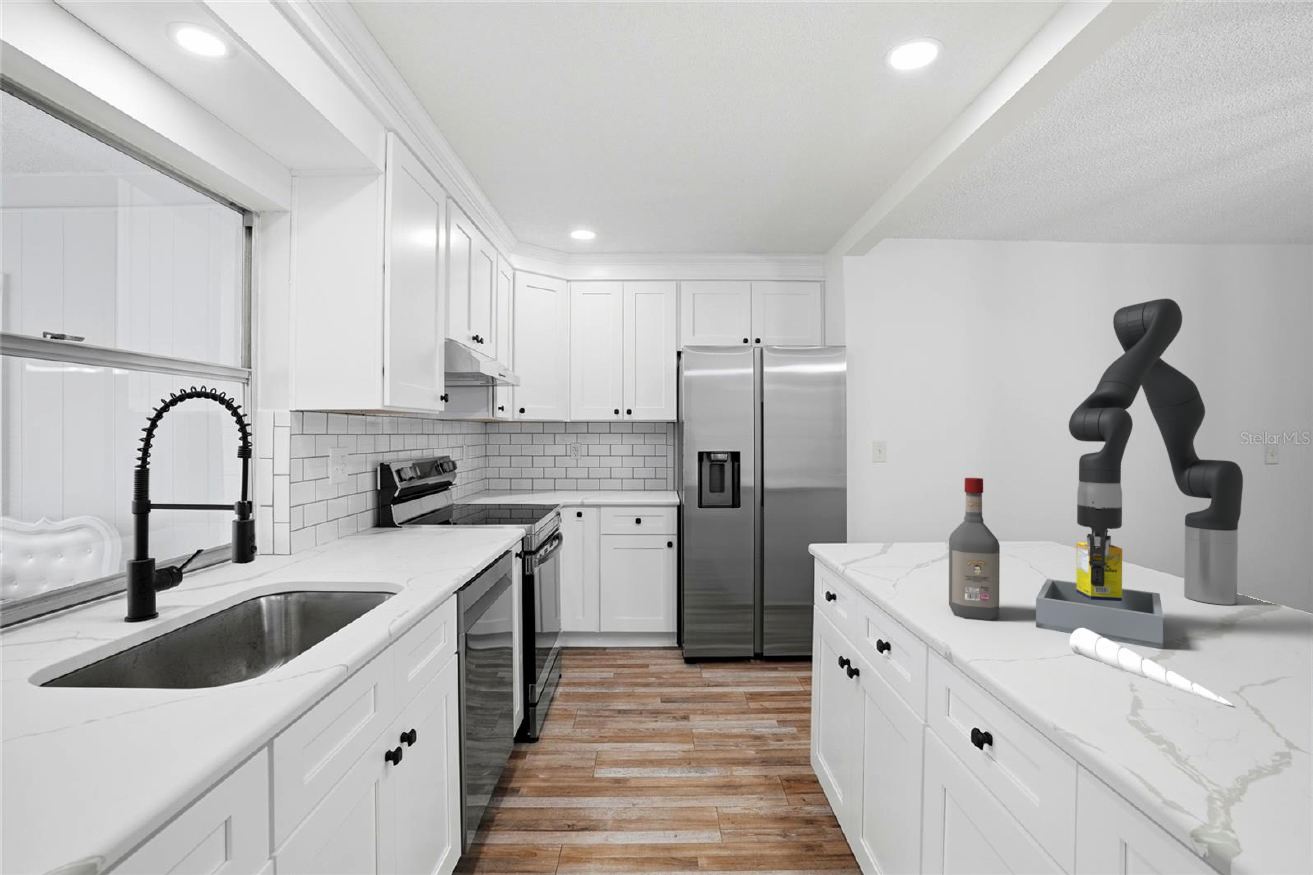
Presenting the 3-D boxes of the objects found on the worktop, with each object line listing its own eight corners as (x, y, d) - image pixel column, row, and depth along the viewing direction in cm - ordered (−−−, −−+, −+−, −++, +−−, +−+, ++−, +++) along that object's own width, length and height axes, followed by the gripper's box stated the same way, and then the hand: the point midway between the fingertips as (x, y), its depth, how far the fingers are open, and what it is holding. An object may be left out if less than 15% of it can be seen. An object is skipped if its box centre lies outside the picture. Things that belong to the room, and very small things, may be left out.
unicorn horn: (1215, 712, 87) (1215, 679, 87) (1066, 653, 110) (1066, 627, 110) (1239, 709, 88) (1239, 676, 88) (1087, 651, 111) (1087, 625, 111)
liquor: (1001, 622, 127) (1002, 480, 126) (953, 617, 130) (954, 479, 129) (992, 609, 135) (992, 477, 135) (947, 605, 138) (948, 476, 138)
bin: (1046, 604, 139) (1047, 578, 139) (1159, 621, 127) (1159, 593, 126) (1035, 627, 123) (1036, 598, 123) (1162, 649, 111) (1163, 616, 111)
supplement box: (1122, 601, 121) (1123, 548, 121) (1089, 600, 123) (1090, 547, 122) (1107, 593, 127) (1107, 542, 127) (1075, 592, 128) (1076, 541, 128)
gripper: (1079, 499, 133) (1078, 572, 133) (1074, 505, 121) (1073, 585, 122) (1122, 501, 128) (1121, 577, 128) (1121, 509, 117) (1120, 592, 117)
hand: (1098, 581), depth 125 cm, fingers closed on supplement box, 8 cm apart
